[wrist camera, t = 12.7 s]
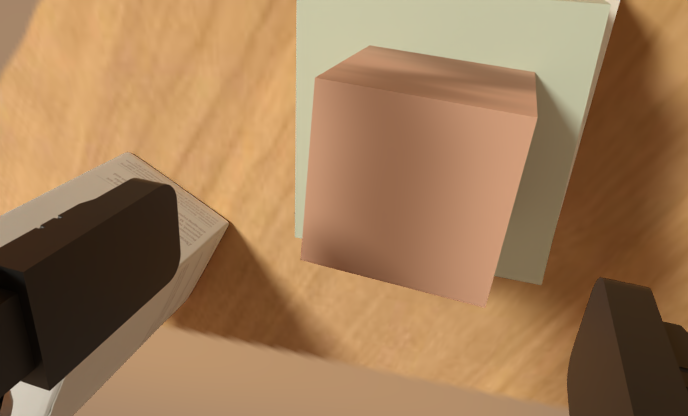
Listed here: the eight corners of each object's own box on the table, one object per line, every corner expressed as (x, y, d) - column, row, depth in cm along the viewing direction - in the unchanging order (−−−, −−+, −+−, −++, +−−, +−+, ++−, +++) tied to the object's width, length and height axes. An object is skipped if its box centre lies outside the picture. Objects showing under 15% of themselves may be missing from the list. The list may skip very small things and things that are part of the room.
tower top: (595, -6, 18) (610, 4, 14) (539, 232, 22) (541, 285, 18) (336, -24, 20) (296, -19, 17) (328, 196, 24) (294, 237, 21)
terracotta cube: (535, 72, 16) (537, 117, 11) (495, 222, 18) (484, 307, 14) (369, 45, 17) (315, 77, 13) (351, 190, 19) (300, 259, 15)
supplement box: (128, 146, 31) (-93, 252, 20) (234, 222, 31) (72, 370, 20) (92, 234, 34) (-109, 365, 24) (187, 302, 34) (29, 464, 24)
